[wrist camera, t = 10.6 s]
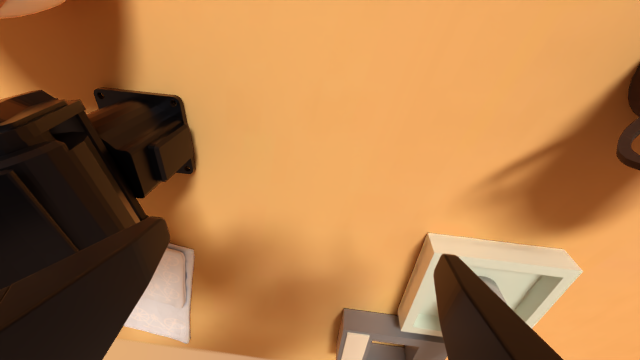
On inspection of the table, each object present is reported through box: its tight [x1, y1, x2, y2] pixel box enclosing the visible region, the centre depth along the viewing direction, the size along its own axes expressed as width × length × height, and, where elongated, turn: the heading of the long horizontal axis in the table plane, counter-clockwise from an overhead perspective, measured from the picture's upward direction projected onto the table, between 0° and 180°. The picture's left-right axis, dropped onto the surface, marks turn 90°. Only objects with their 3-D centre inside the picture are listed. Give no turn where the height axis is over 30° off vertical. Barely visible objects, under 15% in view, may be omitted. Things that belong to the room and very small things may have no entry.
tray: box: [397, 233, 583, 337], centre depth 27 cm, size 12×12×2 cm
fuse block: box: [336, 308, 447, 360], centre depth 33 cm, size 12×8×3 cm, turn 86°
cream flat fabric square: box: [124, 243, 195, 344], centre depth 33 cm, size 19×20×2 cm
